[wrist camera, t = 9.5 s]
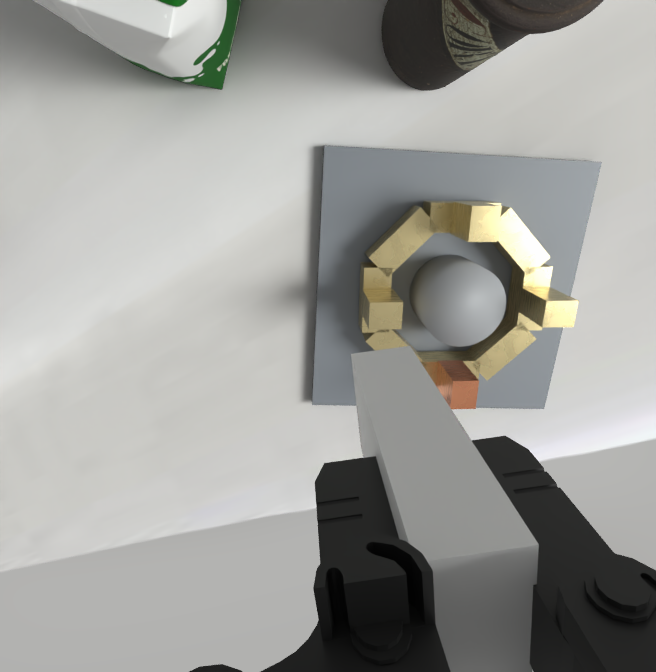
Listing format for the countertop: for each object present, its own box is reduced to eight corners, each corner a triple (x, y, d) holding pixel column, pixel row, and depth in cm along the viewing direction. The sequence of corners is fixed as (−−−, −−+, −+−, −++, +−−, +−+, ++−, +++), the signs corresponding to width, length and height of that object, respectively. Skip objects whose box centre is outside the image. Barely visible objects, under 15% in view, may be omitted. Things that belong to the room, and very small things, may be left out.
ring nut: (361, 199, 40) (373, 205, 34) (549, 199, 41) (597, 206, 35) (355, 376, 46) (365, 411, 39) (521, 373, 47) (557, 406, 40)
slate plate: (312, 400, 48) (314, 431, 42) (323, 145, 40) (328, 142, 34) (539, 404, 50) (570, 434, 44) (594, 162, 41) (641, 161, 36)
